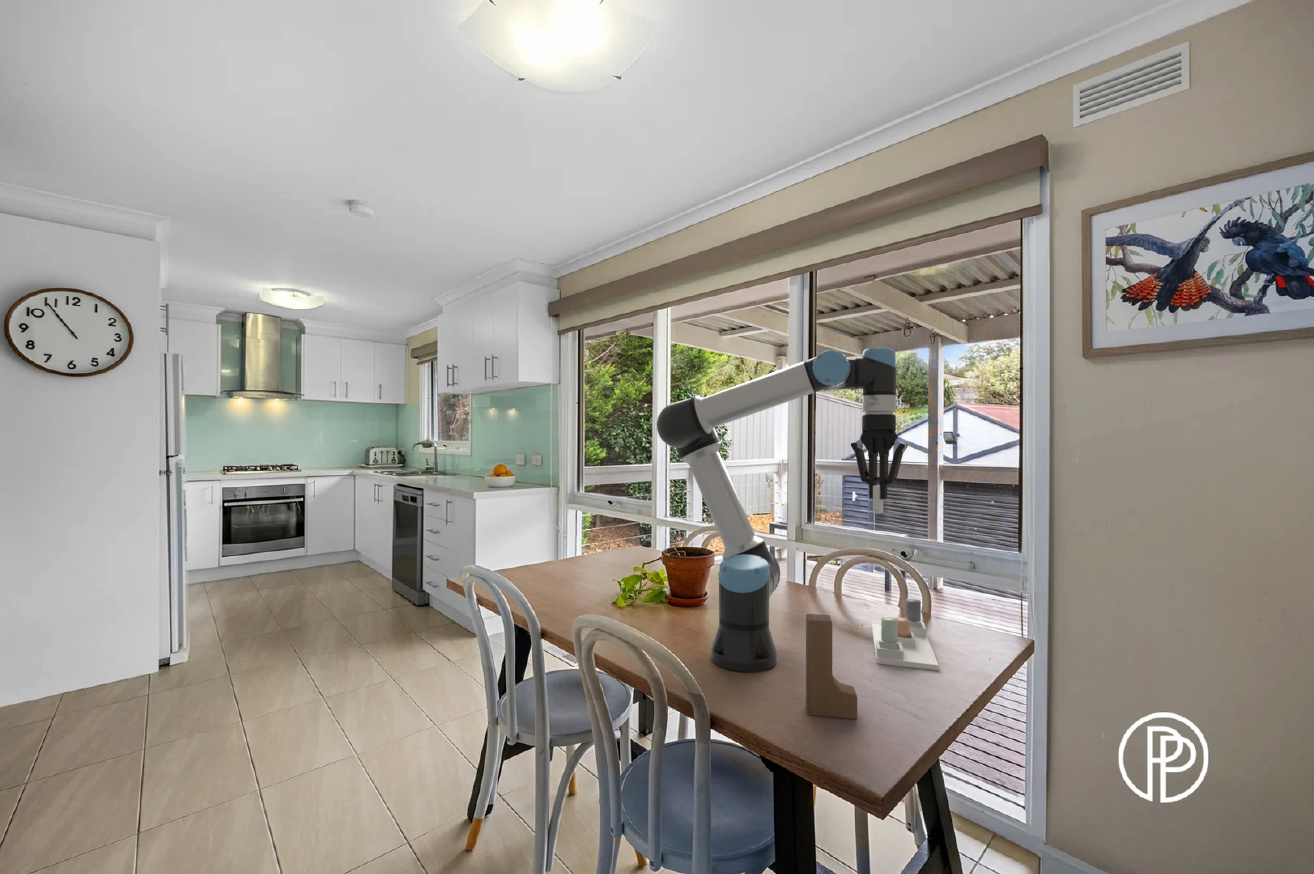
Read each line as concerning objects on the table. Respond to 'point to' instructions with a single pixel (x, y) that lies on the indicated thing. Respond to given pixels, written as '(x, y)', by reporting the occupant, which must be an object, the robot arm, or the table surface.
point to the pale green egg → (889, 629)
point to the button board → (906, 649)
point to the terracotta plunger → (903, 627)
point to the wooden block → (825, 674)
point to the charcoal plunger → (913, 610)
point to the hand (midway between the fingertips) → (878, 512)
